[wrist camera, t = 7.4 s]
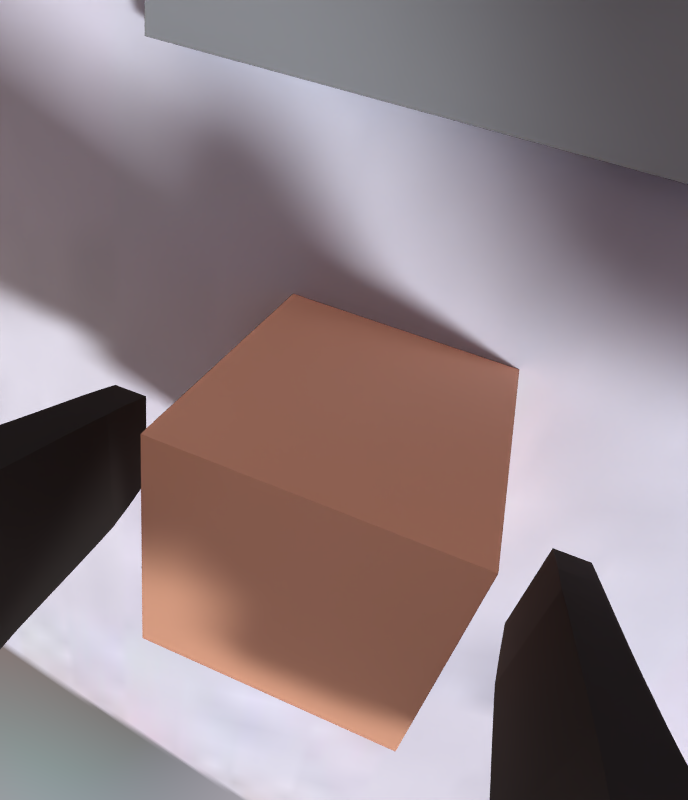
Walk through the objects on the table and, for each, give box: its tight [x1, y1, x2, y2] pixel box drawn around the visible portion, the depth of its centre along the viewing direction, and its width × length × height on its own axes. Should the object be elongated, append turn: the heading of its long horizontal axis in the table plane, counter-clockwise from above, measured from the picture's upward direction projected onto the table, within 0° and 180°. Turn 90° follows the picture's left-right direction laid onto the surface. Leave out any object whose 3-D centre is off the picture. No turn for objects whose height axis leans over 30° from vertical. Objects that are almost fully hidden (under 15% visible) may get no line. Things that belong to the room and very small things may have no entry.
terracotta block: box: [141, 294, 519, 751], centre depth 10 cm, size 4×4×5 cm
